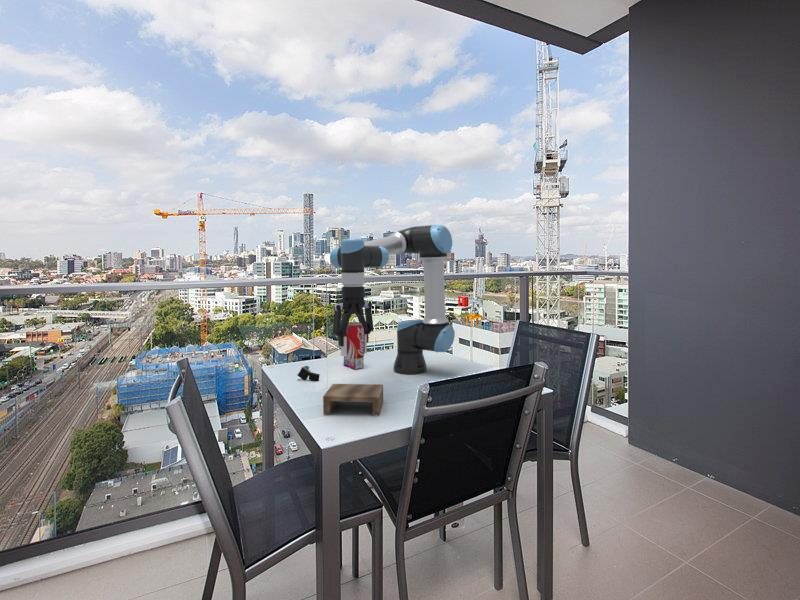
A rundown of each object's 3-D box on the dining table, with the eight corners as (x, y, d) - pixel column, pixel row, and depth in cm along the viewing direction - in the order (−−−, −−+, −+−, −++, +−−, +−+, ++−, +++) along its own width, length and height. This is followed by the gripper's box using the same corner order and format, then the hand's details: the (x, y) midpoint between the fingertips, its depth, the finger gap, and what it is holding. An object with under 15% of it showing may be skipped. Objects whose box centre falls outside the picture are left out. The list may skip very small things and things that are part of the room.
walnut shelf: (383, 401, 144) (383, 384, 143) (378, 415, 130) (378, 397, 130) (333, 400, 145) (332, 383, 145) (323, 414, 131) (323, 396, 131)
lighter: (315, 385, 172) (322, 375, 171) (313, 387, 169) (320, 376, 168) (299, 373, 173) (305, 363, 172) (296, 375, 171) (303, 364, 170)
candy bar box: (364, 368, 190) (363, 333, 188) (355, 370, 187) (354, 335, 185) (352, 364, 199) (351, 330, 197) (343, 365, 196) (342, 331, 194)
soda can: (355, 362, 131) (355, 325, 130) (338, 359, 135) (338, 323, 134) (368, 357, 137) (368, 322, 136) (352, 355, 141) (351, 321, 140)
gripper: (371, 284, 143) (372, 348, 145) (320, 286, 131) (321, 356, 133) (384, 285, 137) (384, 352, 139) (331, 287, 125) (332, 360, 127)
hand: (353, 354), depth 136 cm, fingers closed on soda can, 7 cm apart
